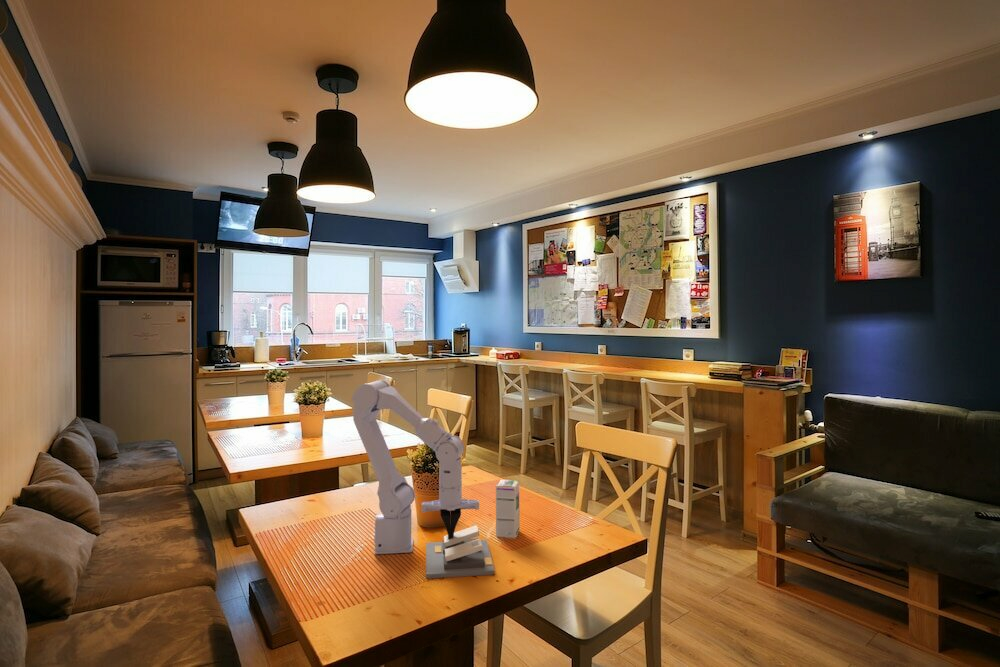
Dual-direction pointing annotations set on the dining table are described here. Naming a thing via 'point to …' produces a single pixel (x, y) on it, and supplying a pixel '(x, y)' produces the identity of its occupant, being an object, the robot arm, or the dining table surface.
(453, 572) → the switch board
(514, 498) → the syrup box
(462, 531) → the back rocker
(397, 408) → the robot arm
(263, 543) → the dining table surface
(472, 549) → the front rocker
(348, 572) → the dining table surface
